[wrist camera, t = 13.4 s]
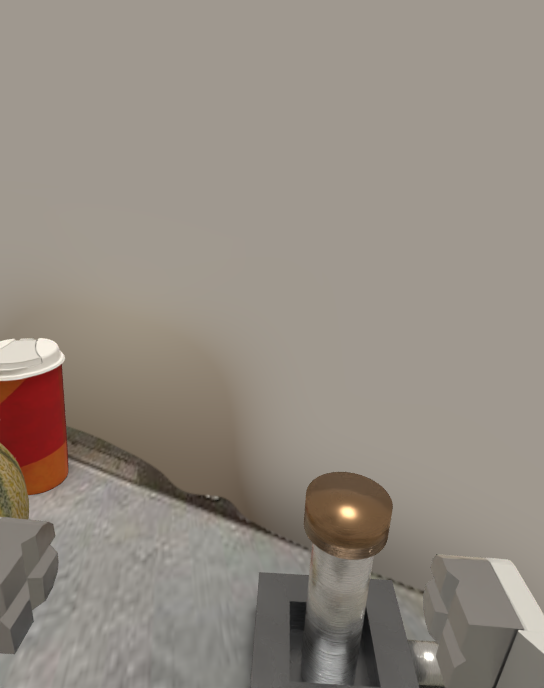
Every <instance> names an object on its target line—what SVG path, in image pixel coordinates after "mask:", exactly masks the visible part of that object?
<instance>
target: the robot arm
mask: <svg viewBox="0 0 544 688" xmlns="http://www.w3.org/2000/svg"><path fill="white" fill-rule="evenodd" d="M54 537H55V532H54V526H53V524H52V523H50V522H45V521H36V520H27V519H18V518H9V517H0V653H3V654H15V653H16V651H17V649H18V648H19V646H20V644H21V642H22V641H23V639H24V637H25V635H26V634H27V632H28V630H29V628H30V627H31V625H32V623H33V622H34V621H33V614H32V610H33V609H34V608H36V607H37V606H39V605H40V604H42V603H43V602H44V601H46V599H47V597H48V595H49V593H50V591H51V590H52V588H53V585H54V581H55V578H56V575H57V571H58V553H57V551H56V550H55V549H54V548H53V547H52V546H51V545H50V544H51V542H52V540H53V539H54ZM430 568H431V571H432V574H433V577H434V578H433V579H432V580H430V581H429V582H428V583H426V586H425V591H424V595H423V610H424V616H425V622H426V625H427V629H428V632H429V634H430V635H431V636H432V637H433V639H434V640H435V641H436V642H437V643H438V644H439V646H438V650H437V653H436V658H437V662H438V665H439V668H440V671H441V674H442V678H443V681H444V684H445V687H446V688H544V614H543V613H542V611H541V609H540V608H539V606H538V604H537V603H536V601H535V599H534V597H533V596H532V594H531V592H530V590H529V589H528V587H527V585H526V584H525V582H524V580H523V579H522V577H521V575H520V573H519V572H518V570H517V568H516V567H515V565H514V564H513V563H512V562H511V561H510V560H506V559H494V558H479V557H466V556H453V555H439V554H436V556H435V557H434V558H433V560H432V564H431V567H430Z"/></svg>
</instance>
